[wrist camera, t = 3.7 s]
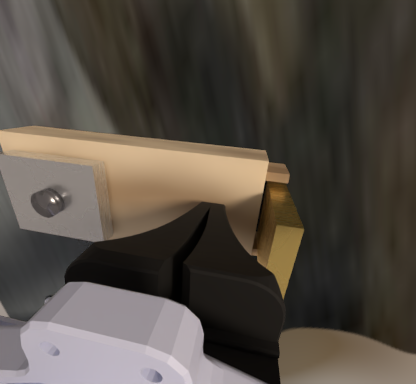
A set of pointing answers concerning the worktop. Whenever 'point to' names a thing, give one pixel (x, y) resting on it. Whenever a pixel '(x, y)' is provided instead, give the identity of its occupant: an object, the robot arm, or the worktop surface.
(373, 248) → the worktop surface
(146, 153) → the board
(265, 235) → the lever
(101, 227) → the lever cap
